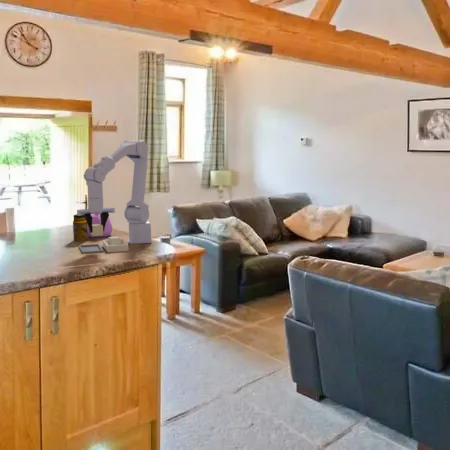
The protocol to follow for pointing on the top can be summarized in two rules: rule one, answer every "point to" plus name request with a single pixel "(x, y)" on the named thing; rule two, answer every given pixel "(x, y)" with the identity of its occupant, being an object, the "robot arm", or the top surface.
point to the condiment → (80, 228)
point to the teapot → (97, 220)
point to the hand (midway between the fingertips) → (96, 231)
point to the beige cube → (97, 230)
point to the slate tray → (91, 248)
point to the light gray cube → (114, 240)
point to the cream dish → (115, 246)
